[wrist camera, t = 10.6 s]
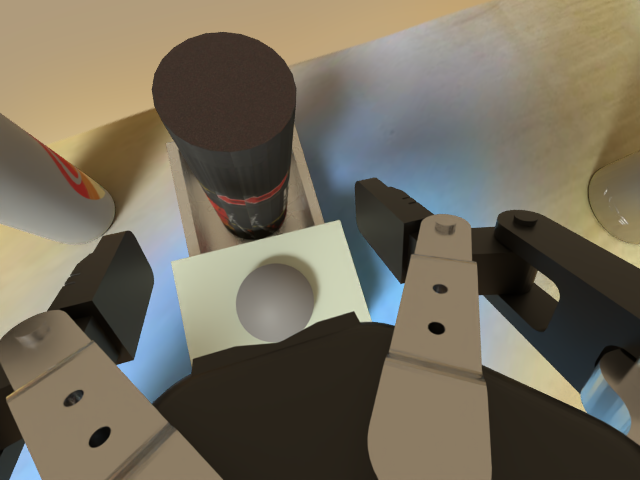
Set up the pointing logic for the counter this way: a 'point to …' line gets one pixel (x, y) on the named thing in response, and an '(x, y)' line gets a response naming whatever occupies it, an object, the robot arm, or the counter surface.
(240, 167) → the deodorant
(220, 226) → the white open box
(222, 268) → the cream rectangular block
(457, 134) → the counter surface
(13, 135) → the lotion bottle
